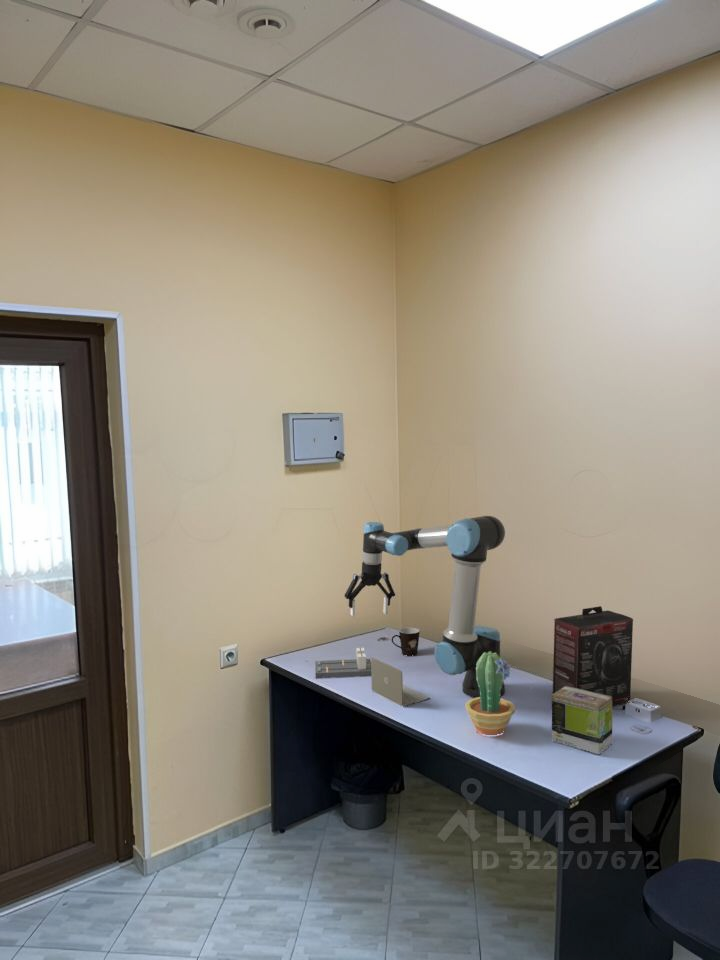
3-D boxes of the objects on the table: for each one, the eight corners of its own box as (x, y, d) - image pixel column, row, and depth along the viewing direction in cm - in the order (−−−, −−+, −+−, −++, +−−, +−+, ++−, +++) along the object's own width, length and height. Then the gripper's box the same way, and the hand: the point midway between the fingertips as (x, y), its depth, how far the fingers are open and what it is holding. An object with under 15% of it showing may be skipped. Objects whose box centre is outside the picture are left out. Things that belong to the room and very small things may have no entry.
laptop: (430, 699, 244) (430, 663, 243) (402, 708, 237) (401, 671, 236) (398, 684, 259) (398, 650, 258) (371, 692, 251) (370, 657, 250)
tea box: (613, 744, 207) (613, 695, 206) (599, 756, 199) (599, 706, 198) (565, 730, 217) (565, 684, 216) (550, 741, 209) (550, 693, 208)
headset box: (605, 690, 248) (606, 599, 246) (633, 702, 237) (634, 607, 234) (551, 703, 238) (551, 608, 235) (577, 717, 226) (578, 617, 224)
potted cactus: (478, 745, 208) (477, 663, 206) (456, 724, 223) (456, 647, 221) (524, 737, 212) (524, 657, 210) (500, 717, 227) (500, 642, 225)
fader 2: (366, 669, 268) (365, 656, 268) (358, 669, 268) (358, 656, 268) (365, 665, 272) (365, 653, 272) (357, 666, 272) (357, 653, 272)
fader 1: (364, 663, 275) (364, 650, 275) (357, 663, 275) (356, 650, 275) (364, 659, 279) (363, 647, 279) (356, 660, 279) (356, 647, 278)
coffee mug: (420, 650, 296) (419, 627, 295) (419, 657, 287) (419, 633, 286) (392, 650, 297) (392, 627, 296) (391, 657, 288) (391, 633, 287)
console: (373, 675, 267) (373, 669, 267) (315, 678, 266) (315, 672, 265) (370, 663, 281) (369, 657, 281) (315, 665, 279) (315, 659, 279)
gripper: (398, 558, 277) (395, 609, 281) (338, 560, 270) (335, 613, 273) (405, 563, 270) (402, 615, 274) (343, 566, 262) (341, 619, 266)
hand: (368, 614), depth 273 cm, fingers open, 13 cm apart
